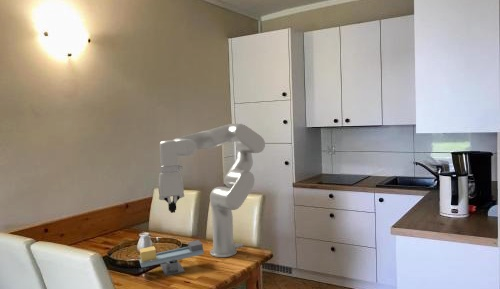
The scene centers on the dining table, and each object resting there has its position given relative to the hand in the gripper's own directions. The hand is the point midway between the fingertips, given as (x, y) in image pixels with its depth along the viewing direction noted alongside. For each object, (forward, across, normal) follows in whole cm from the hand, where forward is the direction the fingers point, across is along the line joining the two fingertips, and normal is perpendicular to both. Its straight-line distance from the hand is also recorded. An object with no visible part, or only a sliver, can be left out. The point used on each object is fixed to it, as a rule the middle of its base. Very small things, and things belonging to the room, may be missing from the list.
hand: (172, 211), depth 165 cm
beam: (+19, +2, +2) cm, 19 cm away
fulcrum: (+24, +2, +2) cm, 24 cm away
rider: (+18, +11, +2) cm, 22 cm away
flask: (+24, +10, -17) cm, 31 cm away
